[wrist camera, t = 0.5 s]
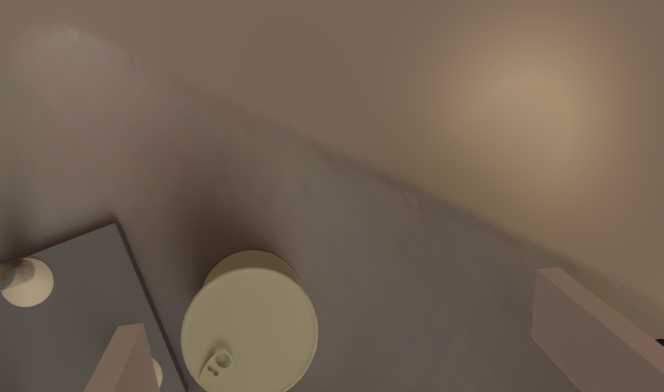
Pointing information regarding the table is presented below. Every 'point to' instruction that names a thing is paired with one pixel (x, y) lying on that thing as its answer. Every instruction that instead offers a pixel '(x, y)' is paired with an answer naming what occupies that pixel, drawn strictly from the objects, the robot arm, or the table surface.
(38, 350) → the board
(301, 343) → the can
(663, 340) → the robot arm
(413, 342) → the table surface
